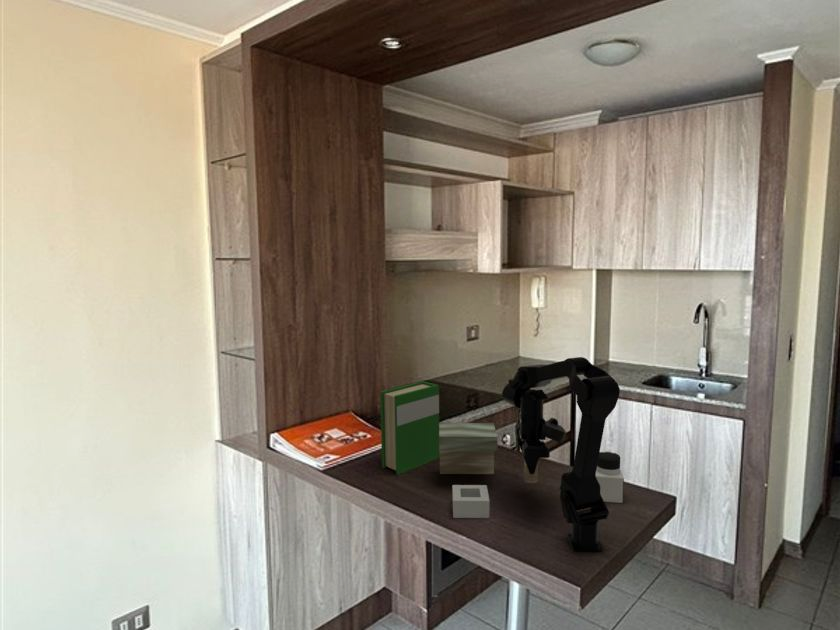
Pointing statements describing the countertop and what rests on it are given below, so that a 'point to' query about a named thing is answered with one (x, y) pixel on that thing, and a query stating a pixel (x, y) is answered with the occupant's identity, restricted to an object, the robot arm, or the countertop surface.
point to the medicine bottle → (610, 477)
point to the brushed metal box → (467, 448)
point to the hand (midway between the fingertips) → (530, 471)
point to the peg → (530, 477)
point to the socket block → (470, 501)
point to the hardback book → (409, 426)
